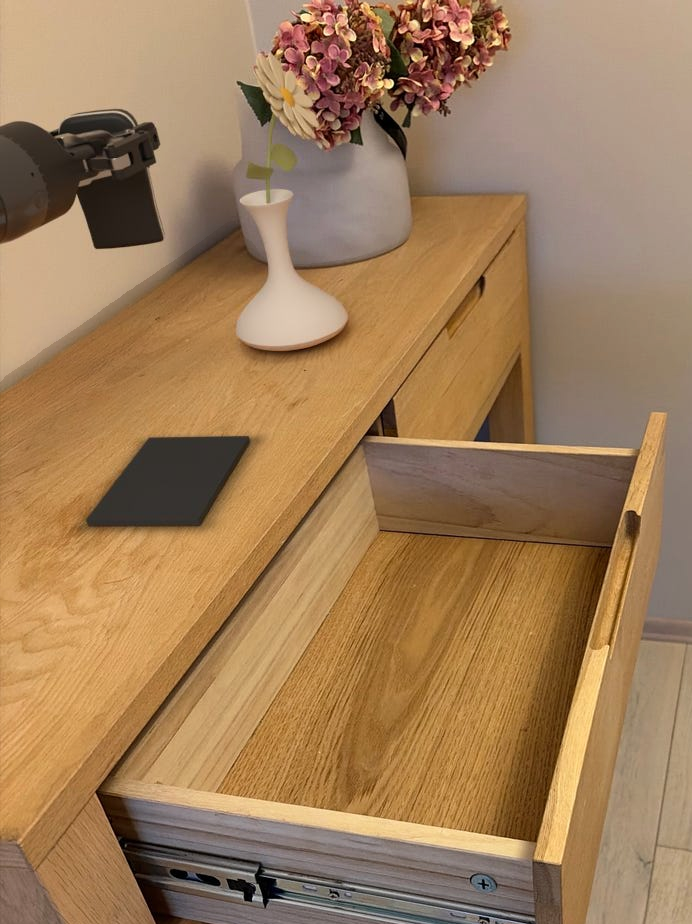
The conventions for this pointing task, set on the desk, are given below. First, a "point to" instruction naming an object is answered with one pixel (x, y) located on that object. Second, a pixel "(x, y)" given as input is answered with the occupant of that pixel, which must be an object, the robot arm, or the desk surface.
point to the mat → (170, 482)
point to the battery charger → (116, 190)
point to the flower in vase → (284, 235)
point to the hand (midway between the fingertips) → (116, 134)
